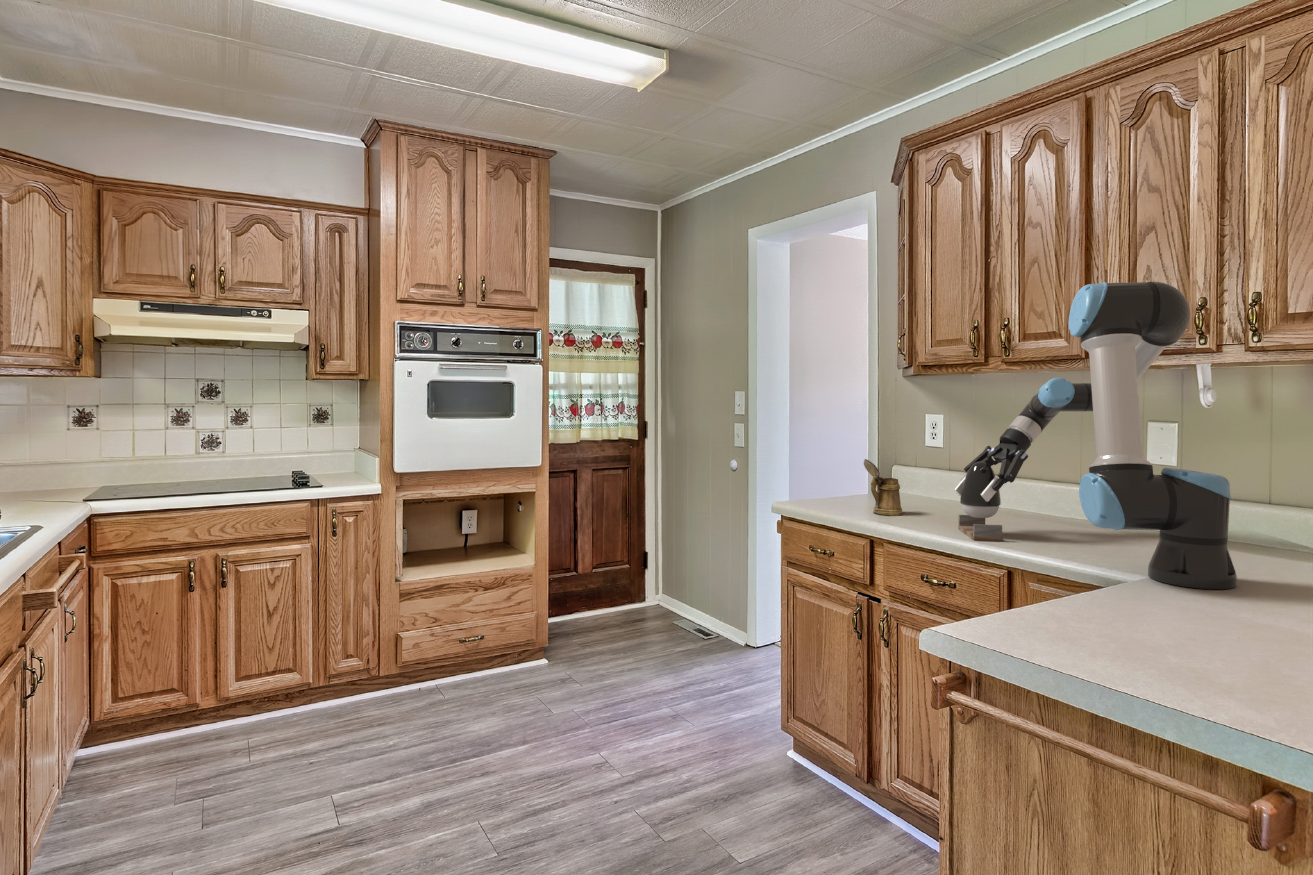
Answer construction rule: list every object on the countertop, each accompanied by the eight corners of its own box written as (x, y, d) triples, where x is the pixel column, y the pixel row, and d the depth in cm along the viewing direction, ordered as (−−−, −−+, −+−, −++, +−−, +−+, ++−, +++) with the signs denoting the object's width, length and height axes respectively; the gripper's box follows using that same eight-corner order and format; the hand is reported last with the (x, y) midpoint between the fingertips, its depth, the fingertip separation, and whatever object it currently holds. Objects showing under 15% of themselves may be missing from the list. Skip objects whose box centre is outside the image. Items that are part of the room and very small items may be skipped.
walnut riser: (1001, 541, 198) (1002, 525, 197) (974, 540, 199) (974, 524, 198) (984, 529, 213) (984, 515, 213) (958, 529, 214) (958, 514, 214)
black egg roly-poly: (963, 519, 202) (964, 463, 201) (957, 512, 212) (958, 459, 211) (1004, 520, 200) (1005, 463, 199) (995, 513, 210) (997, 459, 209)
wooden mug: (855, 512, 243) (856, 457, 241) (891, 510, 247) (892, 456, 246) (872, 517, 234) (872, 460, 233) (908, 515, 239) (909, 458, 237)
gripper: (1059, 448, 199) (1008, 511, 195) (997, 442, 220) (951, 498, 216) (1043, 429, 197) (992, 491, 193) (983, 424, 218) (936, 481, 214)
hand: (970, 495), depth 205 cm, fingers closed on black egg roly-poly, 10 cm apart
